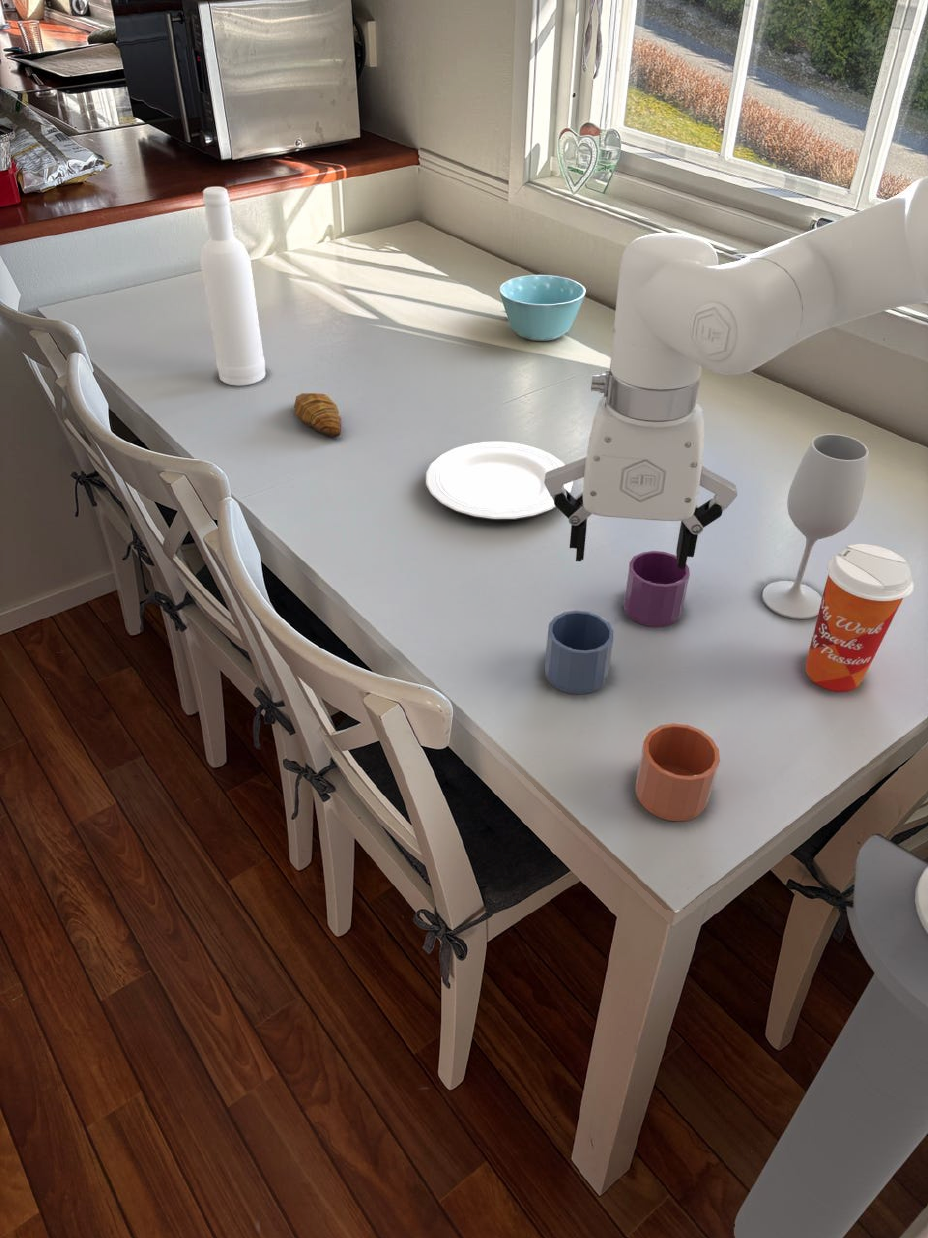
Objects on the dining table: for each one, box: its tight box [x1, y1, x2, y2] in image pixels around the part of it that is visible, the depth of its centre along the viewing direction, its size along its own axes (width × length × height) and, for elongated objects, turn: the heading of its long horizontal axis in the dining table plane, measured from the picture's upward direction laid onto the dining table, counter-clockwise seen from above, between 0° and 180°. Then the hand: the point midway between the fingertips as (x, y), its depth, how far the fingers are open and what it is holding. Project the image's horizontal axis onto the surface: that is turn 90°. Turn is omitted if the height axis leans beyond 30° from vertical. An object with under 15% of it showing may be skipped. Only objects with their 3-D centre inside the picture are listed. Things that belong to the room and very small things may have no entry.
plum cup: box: [622, 550, 691, 628], centre depth 109 cm, size 7×7×6 cm
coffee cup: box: [805, 543, 915, 693], centre depth 97 cm, size 8×8×15 cm
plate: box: [425, 441, 574, 521], centre depth 130 cm, size 21×21×2 cm
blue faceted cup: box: [544, 610, 615, 695], centre depth 100 cm, size 7×7×6 cm
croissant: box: [293, 392, 342, 438], centre depth 144 cm, size 14×7×5 cm, turn 32°
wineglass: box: [761, 433, 870, 620], centre depth 105 cm, size 8×8×21 cm
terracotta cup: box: [634, 722, 721, 822], centre depth 87 cm, size 7×7×6 cm
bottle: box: [199, 186, 266, 387], centre depth 148 cm, size 8×8×30 cm
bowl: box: [498, 274, 587, 342], centre depth 171 cm, size 16×16×8 cm
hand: (629, 557), depth 89 cm, fingers open, 9 cm apart
